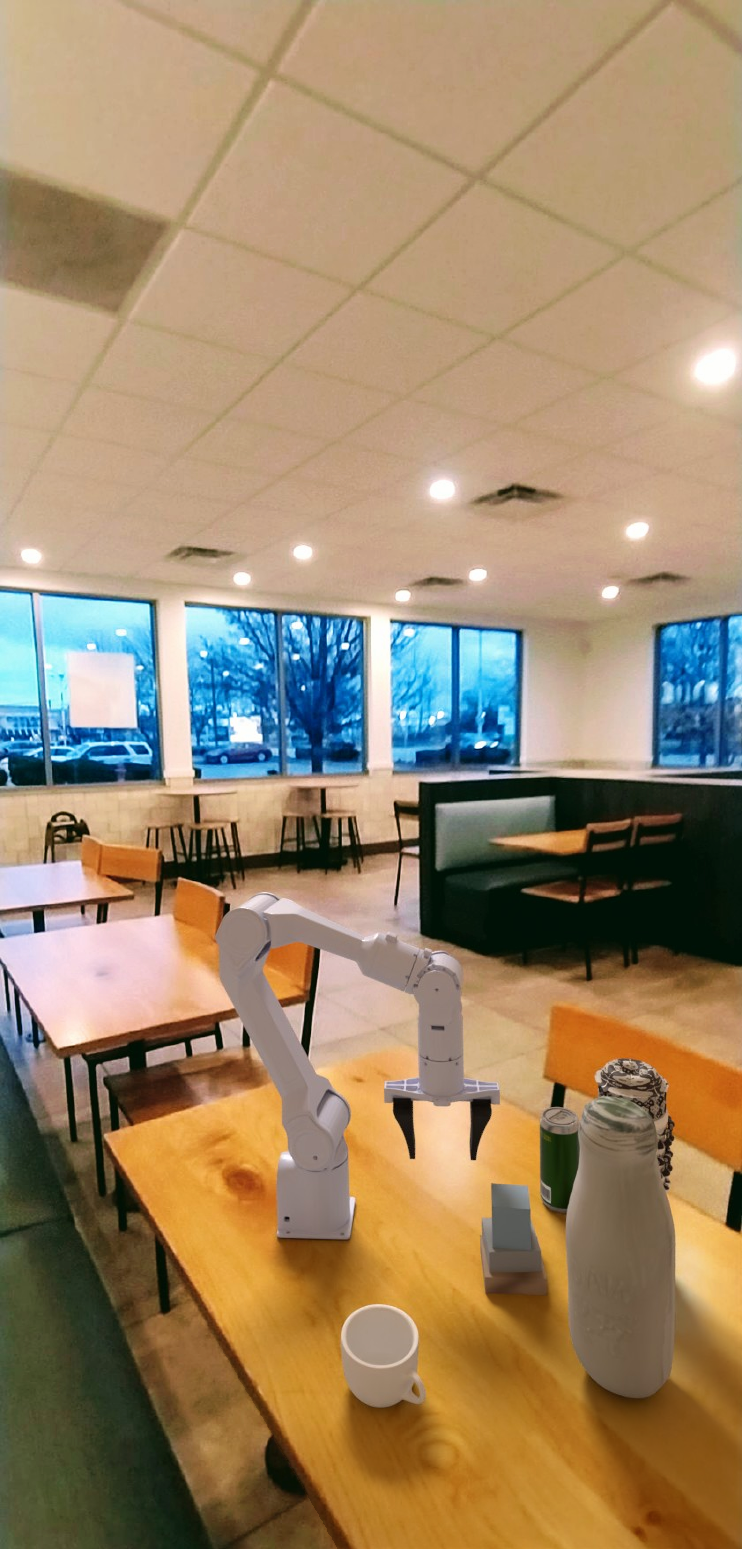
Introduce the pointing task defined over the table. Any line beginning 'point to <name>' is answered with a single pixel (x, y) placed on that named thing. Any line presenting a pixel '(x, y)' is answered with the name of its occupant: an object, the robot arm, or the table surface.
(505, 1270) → the grey middle block
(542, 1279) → the walnut base block
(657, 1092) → the decorative candle
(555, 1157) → the beer can
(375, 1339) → the teacup
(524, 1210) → the slate blue block
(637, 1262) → the glass bottle
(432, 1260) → the table surface
